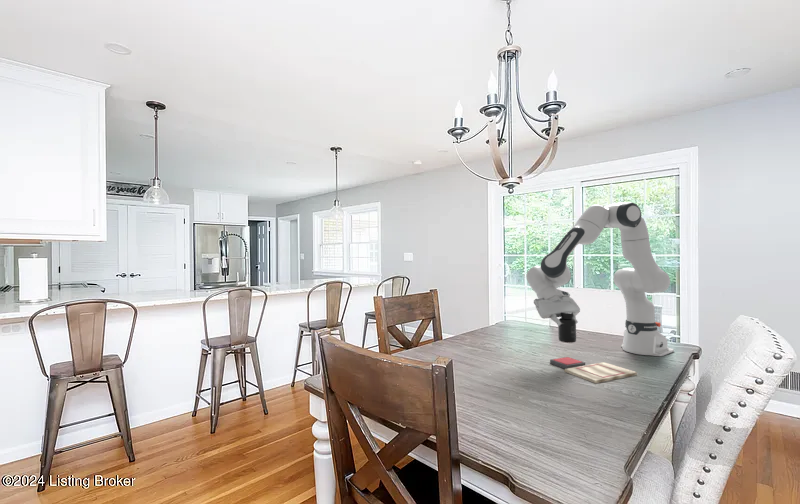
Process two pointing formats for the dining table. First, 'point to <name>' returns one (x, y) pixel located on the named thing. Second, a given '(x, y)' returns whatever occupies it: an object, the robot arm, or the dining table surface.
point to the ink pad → (567, 362)
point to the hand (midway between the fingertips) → (568, 324)
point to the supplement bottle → (567, 328)
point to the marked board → (600, 372)
